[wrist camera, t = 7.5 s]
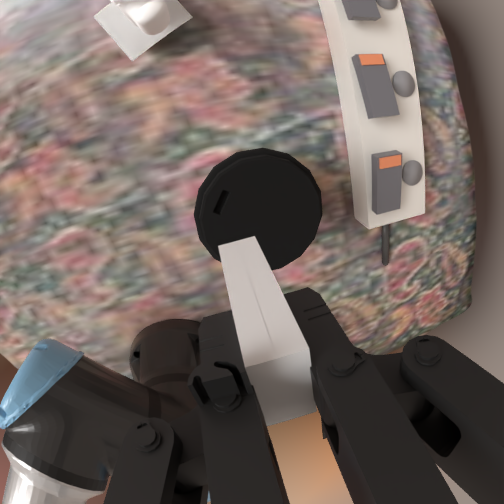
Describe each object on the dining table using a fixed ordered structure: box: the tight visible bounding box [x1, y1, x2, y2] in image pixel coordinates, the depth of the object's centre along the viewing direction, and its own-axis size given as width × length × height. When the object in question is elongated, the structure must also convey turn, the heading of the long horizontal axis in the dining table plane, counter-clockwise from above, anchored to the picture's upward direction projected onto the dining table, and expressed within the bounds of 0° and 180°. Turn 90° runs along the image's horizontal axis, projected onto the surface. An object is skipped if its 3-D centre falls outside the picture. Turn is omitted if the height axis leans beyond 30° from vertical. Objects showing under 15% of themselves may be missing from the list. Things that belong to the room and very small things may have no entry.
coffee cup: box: [194, 148, 322, 270], centre depth 31 cm, size 11×11×12 cm
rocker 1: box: [351, 54, 400, 119], centre depth 28 cm, size 7×3×1 cm, turn 13°
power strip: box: [318, 0, 425, 265], centre depth 33 cm, size 42×9×4 cm, turn 12°
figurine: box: [94, 0, 193, 61], centre depth 19 cm, size 7×9×15 cm
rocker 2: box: [371, 150, 402, 215], centre depth 33 cm, size 7×3×1 cm, turn 11°
